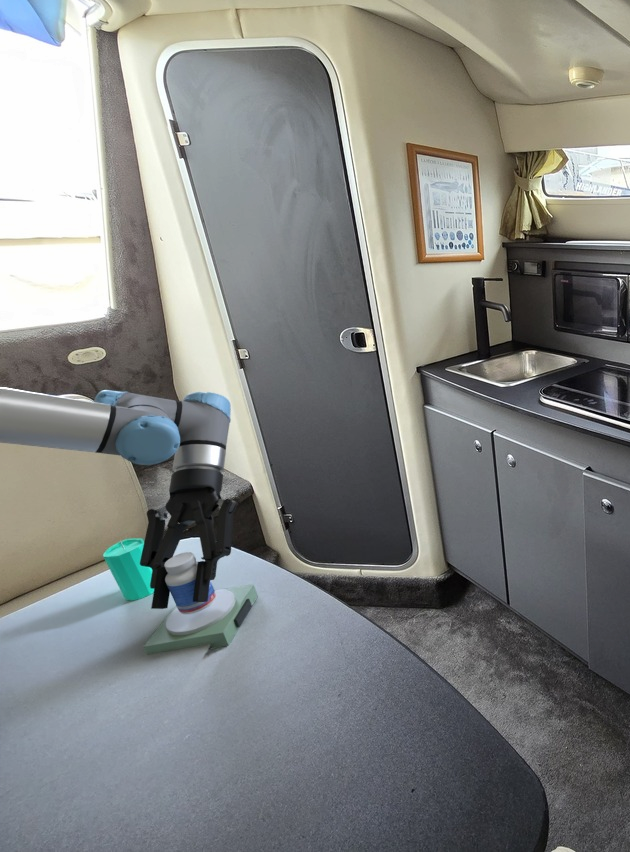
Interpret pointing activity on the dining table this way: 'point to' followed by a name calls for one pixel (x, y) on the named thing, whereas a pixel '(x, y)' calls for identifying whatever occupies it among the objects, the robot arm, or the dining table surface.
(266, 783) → the dining table surface
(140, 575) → the candle
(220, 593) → the kitchen scale
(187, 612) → the pill bottle
